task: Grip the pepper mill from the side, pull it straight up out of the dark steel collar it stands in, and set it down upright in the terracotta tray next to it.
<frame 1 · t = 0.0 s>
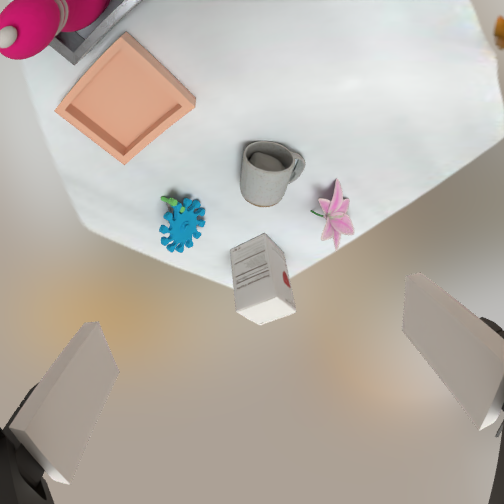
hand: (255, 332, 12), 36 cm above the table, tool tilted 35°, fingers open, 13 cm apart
terracotta tray: (125, 97, 37), on the table
supplement box: (257, 250, 69), on the table
lily: (328, 199, 58), on the table
blue bumpy piece: (182, 207, 56), on the table
ceramic mug: (270, 158, 49), on the table
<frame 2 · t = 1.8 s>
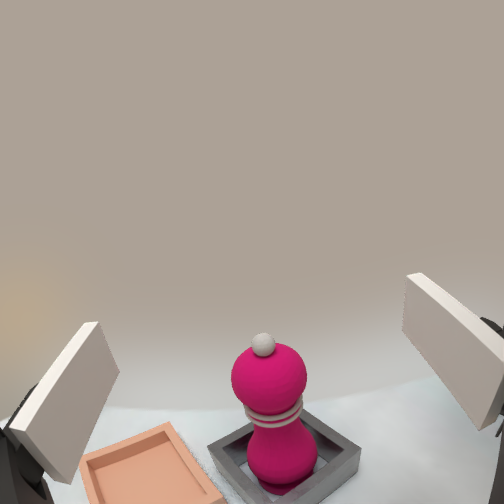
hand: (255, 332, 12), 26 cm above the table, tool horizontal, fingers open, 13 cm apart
terracotta tray: (149, 490, 27), on the table
pepper mill: (285, 474, 28), resting in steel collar
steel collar: (285, 473, 28), on the table
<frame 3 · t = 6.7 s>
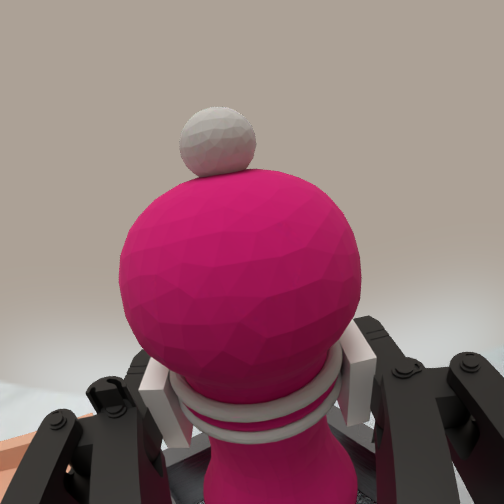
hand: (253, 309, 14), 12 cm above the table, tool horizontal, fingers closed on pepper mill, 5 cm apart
when the fingers open (14 cm above the table, at t = 12.7 s): pepper mill drops 1 cm, resting on terracotta tray.
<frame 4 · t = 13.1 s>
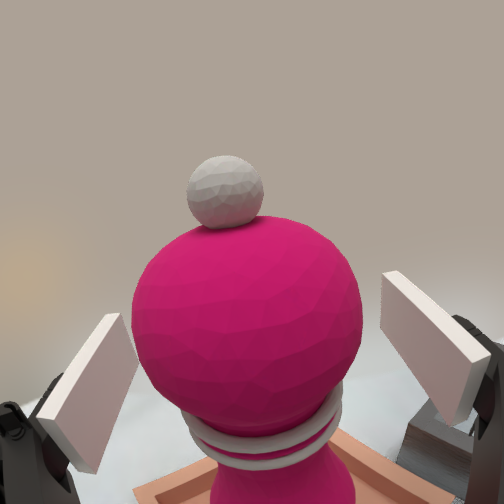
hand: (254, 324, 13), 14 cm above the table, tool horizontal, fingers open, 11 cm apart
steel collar: (489, 441, 15), on the table
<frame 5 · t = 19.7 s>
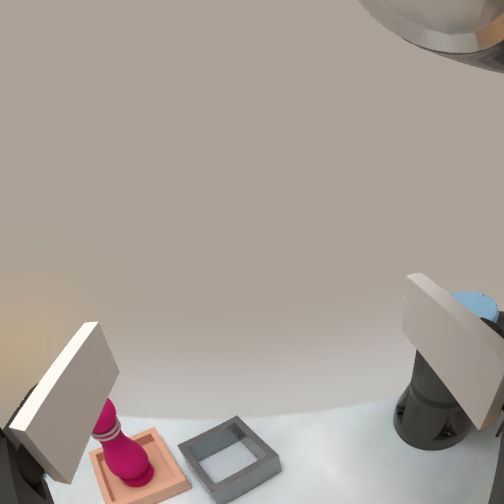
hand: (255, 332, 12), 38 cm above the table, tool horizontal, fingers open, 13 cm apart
terracotta tray: (139, 475, 40), on the table
pepper mill: (137, 474, 40), point 1 cm above the table, touching terracotta tray
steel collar: (231, 467, 42), on the table
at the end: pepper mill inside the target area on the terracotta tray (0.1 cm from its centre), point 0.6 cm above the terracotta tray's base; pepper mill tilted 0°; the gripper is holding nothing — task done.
